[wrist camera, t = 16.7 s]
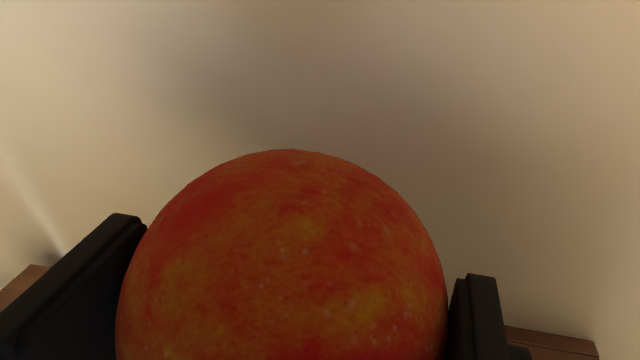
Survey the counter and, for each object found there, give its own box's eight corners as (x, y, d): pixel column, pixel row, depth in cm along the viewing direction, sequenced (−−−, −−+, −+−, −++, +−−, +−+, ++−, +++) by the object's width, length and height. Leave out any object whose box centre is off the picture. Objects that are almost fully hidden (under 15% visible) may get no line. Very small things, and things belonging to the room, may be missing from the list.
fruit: (305, 343, 16) (208, 655, 9) (161, 190, 14) (-91, 431, 7) (495, 258, 13) (564, 628, 6) (341, 51, 11) (197, 241, 4)
